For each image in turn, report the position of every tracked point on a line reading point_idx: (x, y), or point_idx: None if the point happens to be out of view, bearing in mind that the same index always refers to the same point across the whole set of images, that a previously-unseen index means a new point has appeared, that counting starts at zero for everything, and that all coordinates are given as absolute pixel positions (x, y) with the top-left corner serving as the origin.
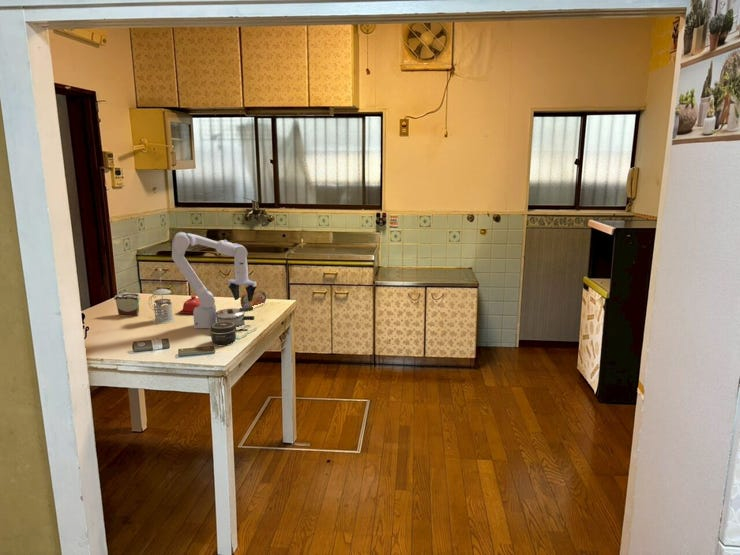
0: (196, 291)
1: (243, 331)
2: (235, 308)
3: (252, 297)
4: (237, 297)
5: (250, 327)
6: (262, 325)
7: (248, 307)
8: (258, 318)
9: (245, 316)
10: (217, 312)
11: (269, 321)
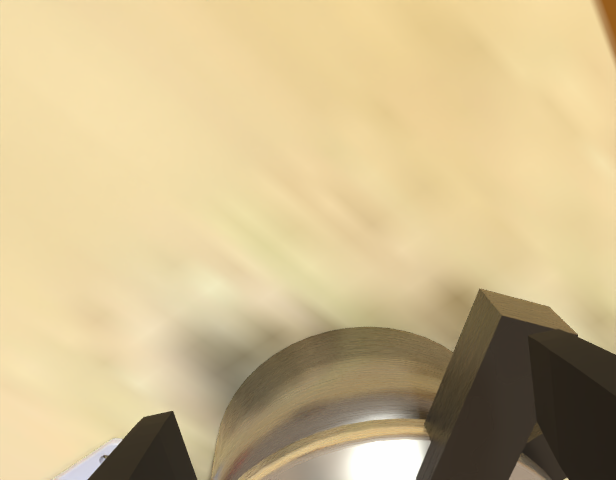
0: None
1: None
2: (297, 470)
3: (611, 363)
4: (174, 472)
5: None
6: (604, 206)
7: (528, 394)
8: (354, 24)
9: (544, 447)
10: None
11: (582, 32)
